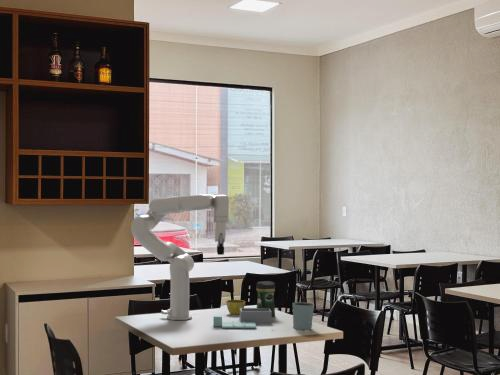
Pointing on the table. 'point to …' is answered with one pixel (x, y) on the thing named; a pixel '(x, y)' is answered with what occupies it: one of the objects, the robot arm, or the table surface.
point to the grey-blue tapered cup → (302, 315)
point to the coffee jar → (266, 295)
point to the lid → (232, 323)
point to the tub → (256, 315)
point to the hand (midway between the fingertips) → (220, 253)
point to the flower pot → (235, 306)
